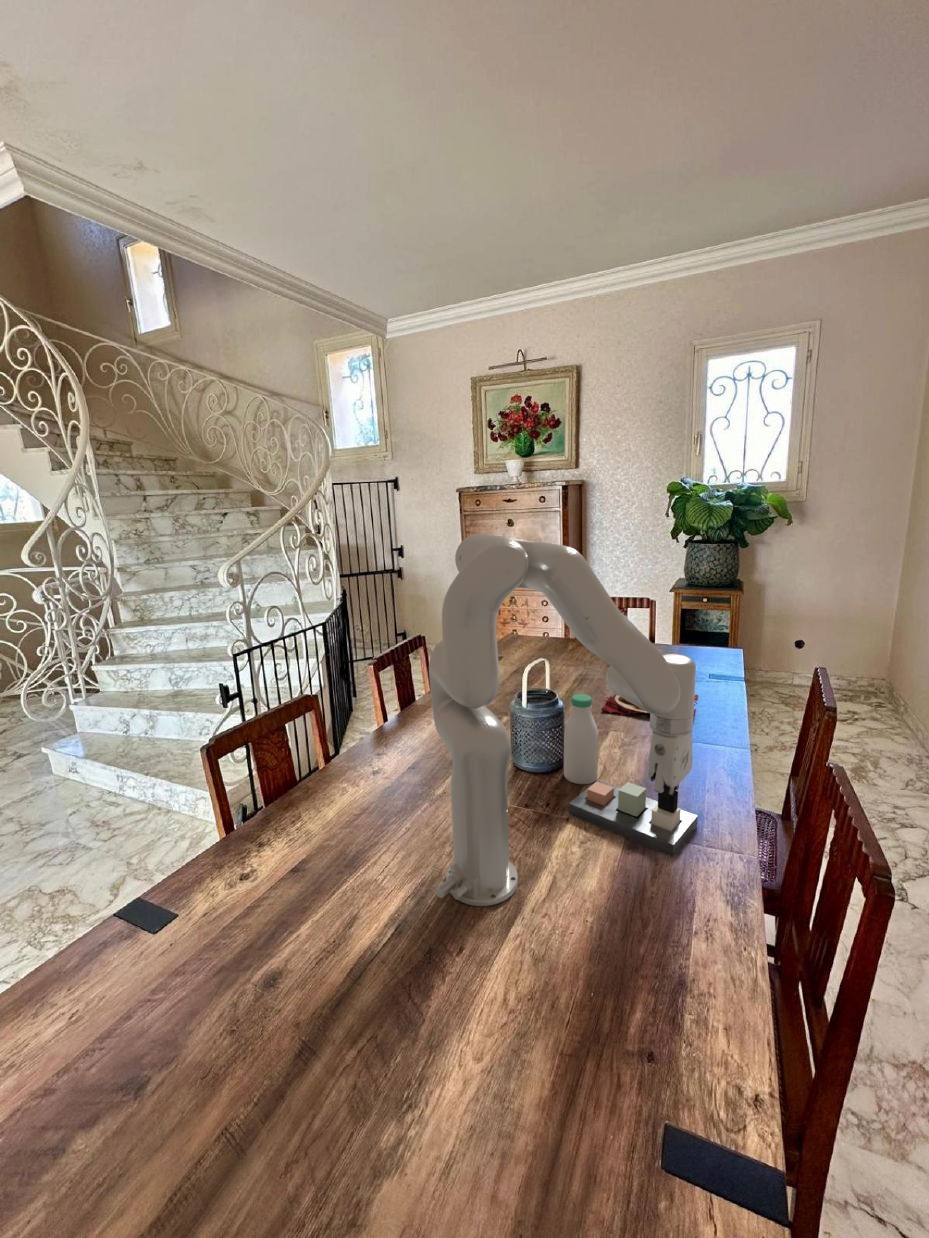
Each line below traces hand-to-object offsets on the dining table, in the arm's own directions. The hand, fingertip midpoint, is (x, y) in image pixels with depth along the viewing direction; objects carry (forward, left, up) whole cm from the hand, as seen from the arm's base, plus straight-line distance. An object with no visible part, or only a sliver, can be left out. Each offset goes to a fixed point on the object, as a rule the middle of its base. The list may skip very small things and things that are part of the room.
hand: (667, 808), depth 108 cm
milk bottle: (+9, +24, -6) cm, 26 cm away
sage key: (0, +7, -3) cm, 8 cm away
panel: (0, +7, -5) cm, 9 cm away
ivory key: (0, 0, -4) cm, 4 cm away
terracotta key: (0, +14, -5) cm, 15 cm away
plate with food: (+61, +30, -6) cm, 68 cm away
